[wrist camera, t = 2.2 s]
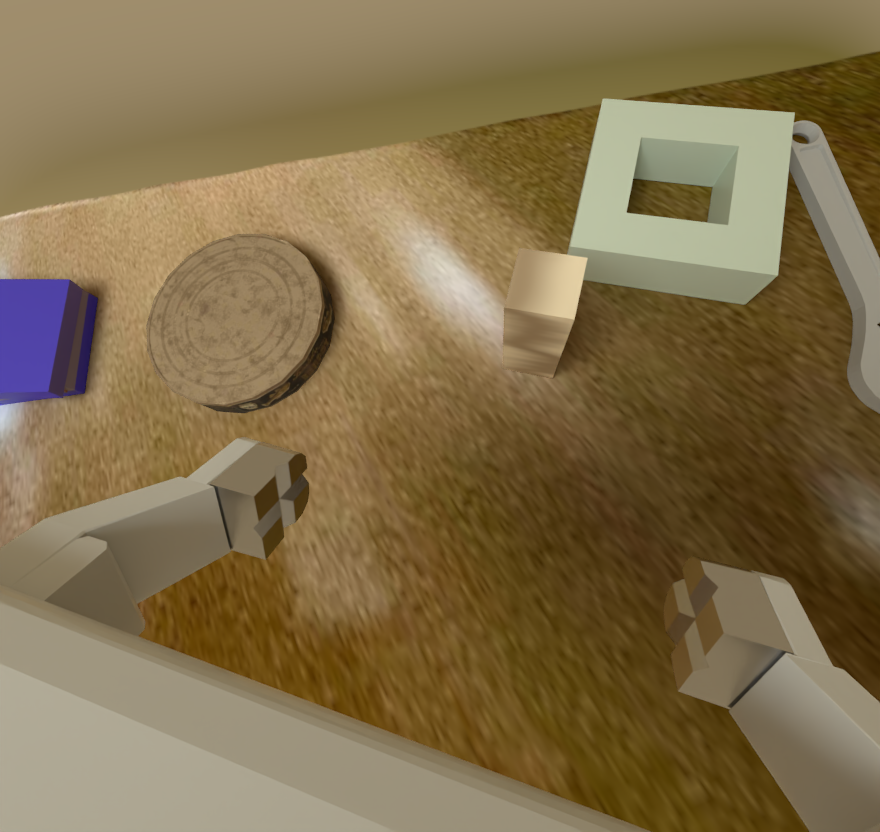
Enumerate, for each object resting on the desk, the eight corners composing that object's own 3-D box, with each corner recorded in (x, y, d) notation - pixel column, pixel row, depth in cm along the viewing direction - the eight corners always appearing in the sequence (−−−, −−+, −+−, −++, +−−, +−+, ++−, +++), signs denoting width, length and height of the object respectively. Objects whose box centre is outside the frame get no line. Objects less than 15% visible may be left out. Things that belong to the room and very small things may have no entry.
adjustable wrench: (769, 140, 36) (782, 121, 35) (850, 128, 36) (868, 108, 34) (855, 418, 30) (877, 411, 28) (957, 411, 29) (986, 404, 27)
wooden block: (562, 332, 34) (587, 257, 24) (552, 378, 33) (574, 319, 24) (513, 324, 35) (519, 247, 25) (502, 368, 34) (504, 307, 24)
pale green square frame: (762, 157, 35) (794, 112, 32) (744, 304, 33) (777, 275, 29) (592, 141, 38) (602, 98, 34) (562, 276, 35) (569, 246, 31)
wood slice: (358, 267, 38) (346, 246, 36) (301, 432, 35) (284, 424, 32) (210, 243, 41) (188, 222, 39) (145, 393, 38) (116, 382, 35)
